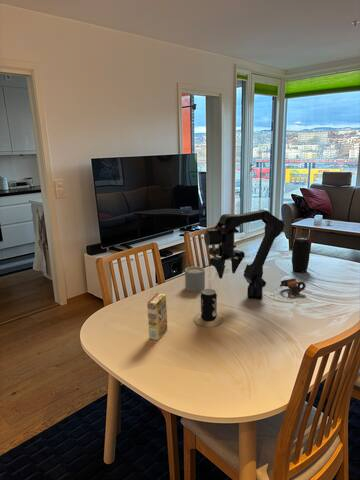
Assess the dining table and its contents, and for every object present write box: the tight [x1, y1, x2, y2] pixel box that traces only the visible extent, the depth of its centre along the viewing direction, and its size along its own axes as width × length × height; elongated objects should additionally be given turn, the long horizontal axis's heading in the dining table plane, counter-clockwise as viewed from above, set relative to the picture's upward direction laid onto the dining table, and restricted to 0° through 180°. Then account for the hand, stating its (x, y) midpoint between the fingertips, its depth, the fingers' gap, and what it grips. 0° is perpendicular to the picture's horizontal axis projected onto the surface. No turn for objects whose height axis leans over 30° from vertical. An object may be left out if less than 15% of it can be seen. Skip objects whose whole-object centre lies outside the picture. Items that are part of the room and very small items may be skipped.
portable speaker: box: [291, 235, 311, 274], centre depth 203 cm, size 9×9×20 cm
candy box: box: [146, 293, 168, 341], centre depth 138 cm, size 9×4×15 cm, turn 158°
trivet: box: [193, 312, 224, 328], centre depth 150 cm, size 12×12×1 cm
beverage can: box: [200, 288, 218, 321], centre depth 148 cm, size 7×7×12 cm
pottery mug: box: [279, 278, 307, 297], centre depth 175 cm, size 12×10×8 cm
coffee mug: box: [184, 266, 206, 293], centre depth 184 cm, size 13×10×10 cm
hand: (227, 275), depth 163 cm, fingers open, 9 cm apart
